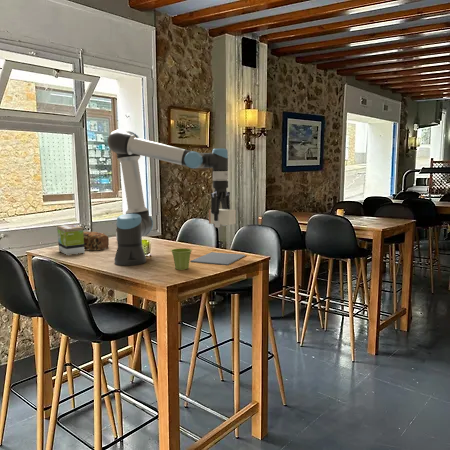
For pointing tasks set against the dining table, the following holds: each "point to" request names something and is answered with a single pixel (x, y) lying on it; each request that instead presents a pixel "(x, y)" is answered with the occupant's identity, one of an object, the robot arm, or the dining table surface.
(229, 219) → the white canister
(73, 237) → the tea box
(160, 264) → the dining table surface
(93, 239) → the bread
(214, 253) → the slate mat
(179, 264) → the plant pot
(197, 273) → the dining table surface
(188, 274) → the dining table surface
